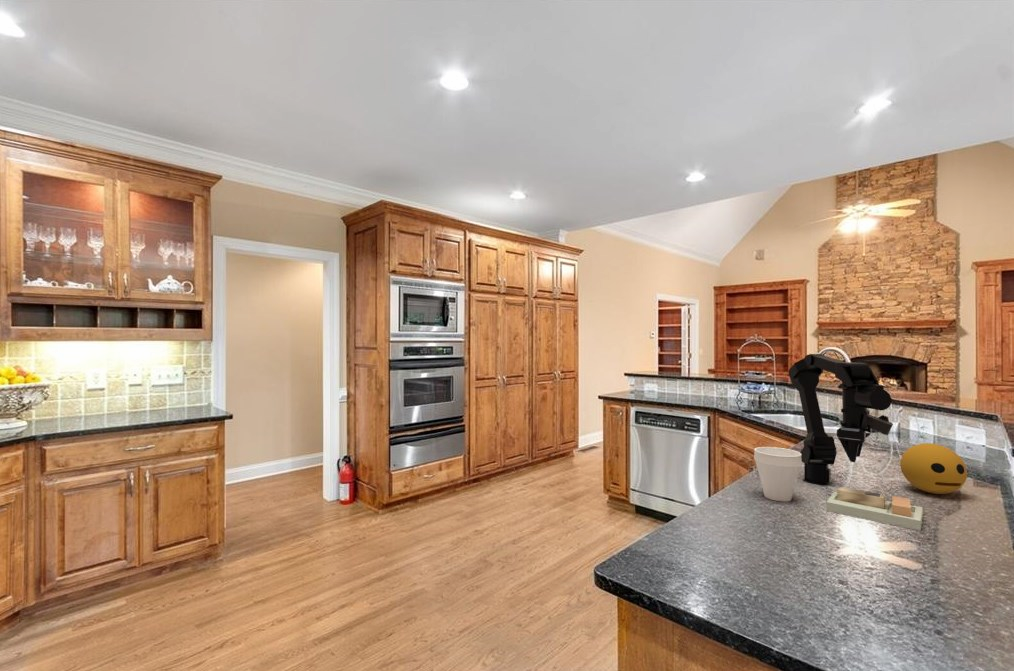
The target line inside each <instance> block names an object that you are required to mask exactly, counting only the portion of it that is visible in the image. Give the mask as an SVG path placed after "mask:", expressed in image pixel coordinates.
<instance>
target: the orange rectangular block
mask: <svg viewBox="0 0 1014 671" xmlns="http://www.w3.org/2000/svg"><path fill="white" fill-rule="evenodd" d="M891 502H892V514H896V515H901V516H906V517H911V500H910V498H906V497H900V496H895V495H891Z"/></svg>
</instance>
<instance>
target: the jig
mask: <svg viewBox="0 0 1014 671" xmlns="http://www.w3.org/2000/svg"><path fill="white" fill-rule="evenodd" d="M923 509H924V508H923V507H922V506H918V505H911V517H906V516H901V515H896V514H892V500H891V501H890V500H885V509H880V508H875V507H870V506H865V505H859V504H854V503H849V502H844V501H839V500H837V491H836V490H835V491H834V492H833V493H832V494H831V495H830V497H829V498H828V500H827V501H826V512H830V513H835V514H840V515H844V516H848V517H849V516H850V517H854V518H858V519H863V520H867V521H873V522H878V523H881V524H888V525H891V526H892V525H893V526H896V527H900V528H905V529H911V530H915V531H919V532H920V531H922V523H923V518H924V516H923Z"/></svg>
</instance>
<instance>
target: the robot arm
mask: <svg viewBox="0 0 1014 671" xmlns="http://www.w3.org/2000/svg"><path fill="white" fill-rule="evenodd" d="M824 371H826V372H828V373H830V374H834V377H835V378H836V379H837V380H839V381H840V382H841V383H840V384H839V385H837V389H839V390H840V389H841V391H842V392H841V394H842V395H841V397H842V398H841V399H842V408H841V409H840V412H841V413H842V422H841V424H840V425H841V426H840V427H839V428H837V429H836V437H837V439H838V440H839V442H840V445H841V446H842V447H843V449H844V452H845V454H846V455H847V458H848V461H849V462H850V463H856V461H857V458H859V457H861V453H862V449H863V446H864V445H863V444H864V442H865V441H866V439H867V438H868V437H870V436H871V434H872V432H873V430H874V431H877V432H879V433H881V434H882V435H884V436H885V435H886V436H888V435H889V433H890V432H891V429H892V427H893V425H894V423H893V422H892V421H890V420H889V416H886V415H884V414H881V415H880V416H878V417H877V416H876V415H875V416H874V415H871V414H870V409H871V410H875V411H885V410H887V409H888V408H890V406H891V405H892V402H893V401H892V400H893V398H892V397H891V394H890V392H888V391H886V390H885V389H884V387H885V386H884V385H882V384H880V383H879V380H878V378H876V376H875V373H874V372H873V370H872V369H871V367H870V365H869V364H868V363H866V362H855V361H854V362H846V361H843V360H840V359H837V358H834V357H831V356H827V355H824V354H822V353H809V354H806V355H805V356H804V358H802V359H799V360H798V361H796V362H795V363H793V364H792V366H791V367H790V368H789V370H788V371H787V372H788V377H789V378H790V383H791V385H792V386H793V387H794V388H795V389H796V390H797V391H798V394H799V398H800V404H801V409H802V413H803V414H802V415H803V418H804V424H805V428H806V435H805V438H804V440H803V448H802V449H801V450H800V453H801V455H802V456H801V460H802V464H804V467H803V469H804V470H803V471H804V474H803V476H804V478H803V479H802V482H805V483H812V484H816V485H817V484H818V485H823V486H828V484H830V483H831V481H832V480H831V479H832V477H831V475H832V473H831V471H832V469H831V468H829V465H835V461H836V457H837V453H838V452H837V446H836V443H835V439H834V437H833V436H831V435H830V436H829V435H828V433H826V431H825V426H824V422H823V418H822V412H821V408H820V407H821V406H820V403H819V399H818V395H817V394H818V393H817V388H818V385H819V383H820V376H821V375H822V374H824Z"/></svg>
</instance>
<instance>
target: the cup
mask: <svg viewBox="0 0 1014 671" xmlns="http://www.w3.org/2000/svg"><path fill="white" fill-rule="evenodd" d="M800 452H801V451H800ZM800 452H799V451H796V450H793V449H789V448H783V447H775V446H774V447H773V446H760V447H758V446H757V447H755V448H754V452H753V454H754V455H753V460H754V461H755V464H756V468H757V470H758V476H759V480H760V483H761V487H762V491H763V495H764V497H765V498H766V499H769V500H773V501H776V502H790V501H792V498H793V495H794V490H795V488H796V484H797V479H798V476H799V471H800V467H801V466H802V465H803V462H802V460H801V456H802V455H801V453H800Z"/></svg>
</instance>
